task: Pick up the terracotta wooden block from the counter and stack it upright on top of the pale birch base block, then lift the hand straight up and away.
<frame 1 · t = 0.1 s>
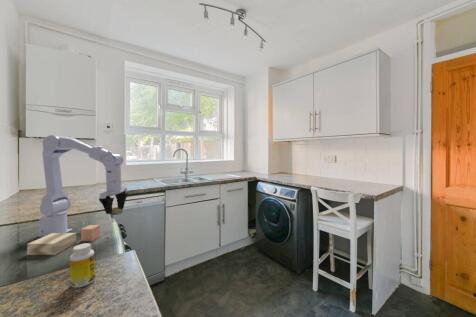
hand: (115, 211, 95), 10 cm above the countertop, tool pointing down, fingers open, 7 cm apart
supplement bottle: (83, 283, 59), on the countertop
base: (53, 248, 81), on the countertop
block: (91, 238, 90), on the countertop
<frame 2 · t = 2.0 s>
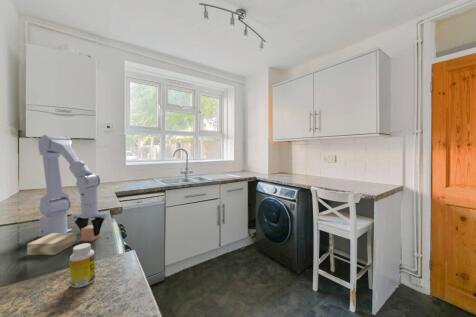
hand: (90, 235, 90), 1 cm above the countertop, tool pointing down, fingers closed on block, 5 cm apart
block: (91, 238, 90), on the countertop, touching gripper
everything else where it was.
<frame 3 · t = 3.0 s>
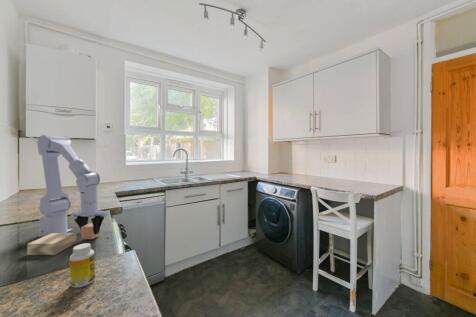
hand: (90, 233, 90), 2 cm above the countertop, tool pointing down, fingers closed on block, 5 cm apart
block: (90, 236, 90), point 1 cm above the countertop, touching gripper
everything else where it was.
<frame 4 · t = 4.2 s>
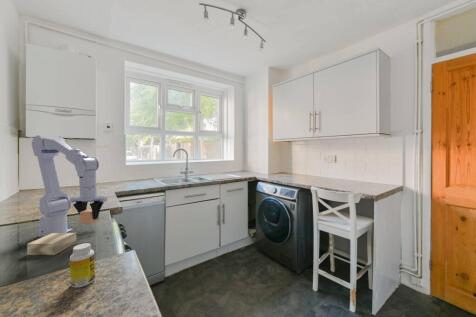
hand: (89, 218, 90), 8 cm above the countertop, tool pointing down, fingers closed on block, 5 cm apart
block: (89, 222, 90), point 7 cm above the countertop, touching gripper
everything else where it was.
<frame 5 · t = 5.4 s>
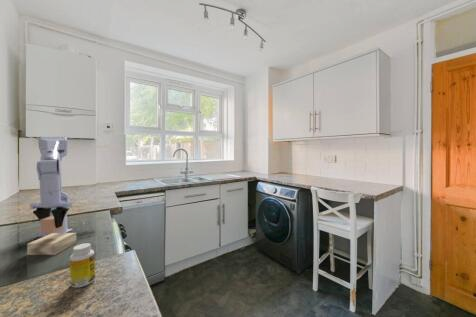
hand: (52, 227, 81), 8 cm above the countertop, tool pointing down, fingers closed on block, 5 cm apart
block: (52, 230, 81), point 7 cm above the countertop, touching gripper
everything else where it was.
when the fingers open (6 cm above the countertop, at t = 6.2 s): block stays where it is, resting on base.
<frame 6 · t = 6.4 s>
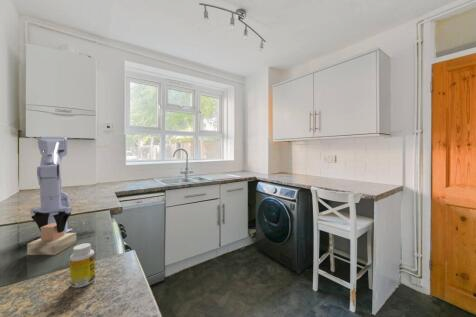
hand: (52, 231, 81), 6 cm above the countertop, tool pointing down, fingers open, 6 cm apart
block: (52, 238, 81), point 4 cm above the countertop, touching base
everything else where it was.
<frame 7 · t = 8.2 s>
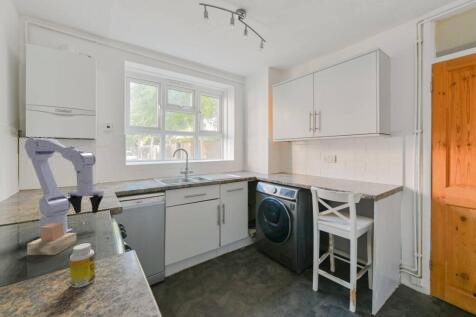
hand: (86, 212, 92), 10 cm above the countertop, tool pointing down, fingers open, 7 cm apart
nothing on the countertop moved.
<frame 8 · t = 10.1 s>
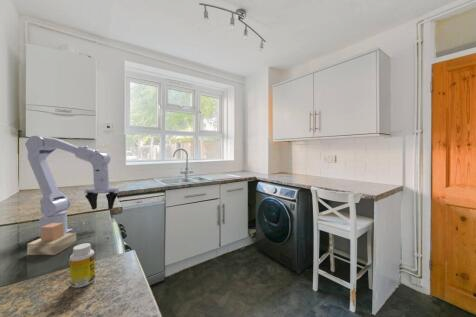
hand: (102, 208, 98), 10 cm above the countertop, tool pointing down, fingers open, 7 cm apart
nothing on the countertop moved.
at the end: block 0.0 cm off-centre on the base, point 4.0 cm above the base's base; block tilted 0°; the gripper is holding nothing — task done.
